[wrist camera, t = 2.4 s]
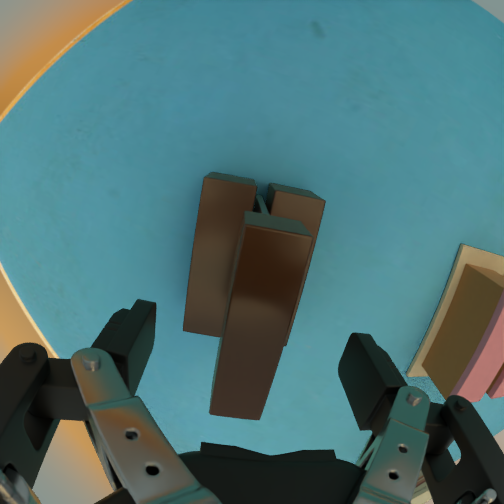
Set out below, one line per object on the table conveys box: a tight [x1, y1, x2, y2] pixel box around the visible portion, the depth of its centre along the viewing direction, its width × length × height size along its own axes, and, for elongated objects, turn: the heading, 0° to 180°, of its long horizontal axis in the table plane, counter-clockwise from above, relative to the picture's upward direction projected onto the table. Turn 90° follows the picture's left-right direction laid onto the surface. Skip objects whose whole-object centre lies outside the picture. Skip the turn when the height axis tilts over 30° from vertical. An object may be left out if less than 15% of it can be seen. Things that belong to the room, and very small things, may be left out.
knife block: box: [183, 172, 326, 346], centre depth 21 cm, size 10×7×4 cm
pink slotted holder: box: [406, 244, 504, 402], centre depth 22 cm, size 14×13×7 cm
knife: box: [209, 195, 314, 420], centre depth 17 cm, size 9×2×11 cm, turn 169°
